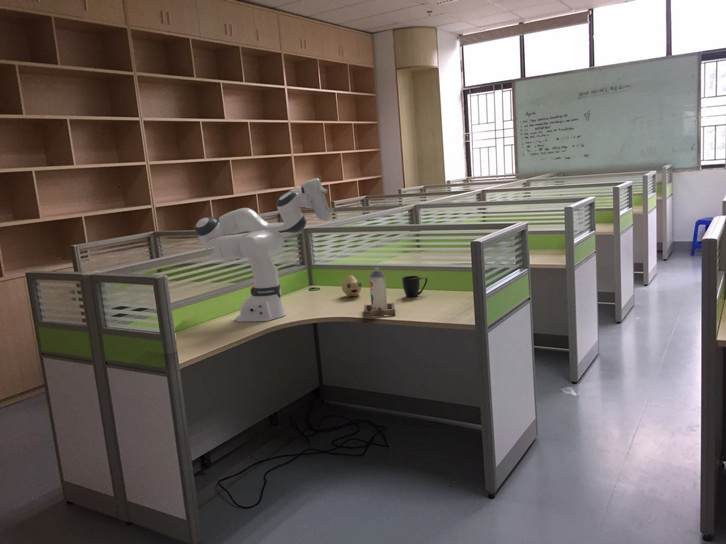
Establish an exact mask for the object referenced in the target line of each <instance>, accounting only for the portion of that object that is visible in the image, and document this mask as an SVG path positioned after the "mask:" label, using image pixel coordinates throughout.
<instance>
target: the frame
mask: <svg viewBox="0 0 726 544" xmlns="http://www.w3.org/2000/svg"><path fill="white" fill-rule="evenodd" d="M387 309H388V310H375V311H367V310H372V304H364V305H363V317H366V318H373V317H372V316H380V317H385V316H384V315H393V316H396V306H395V302H389V303H388V302H387Z"/></svg>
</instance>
